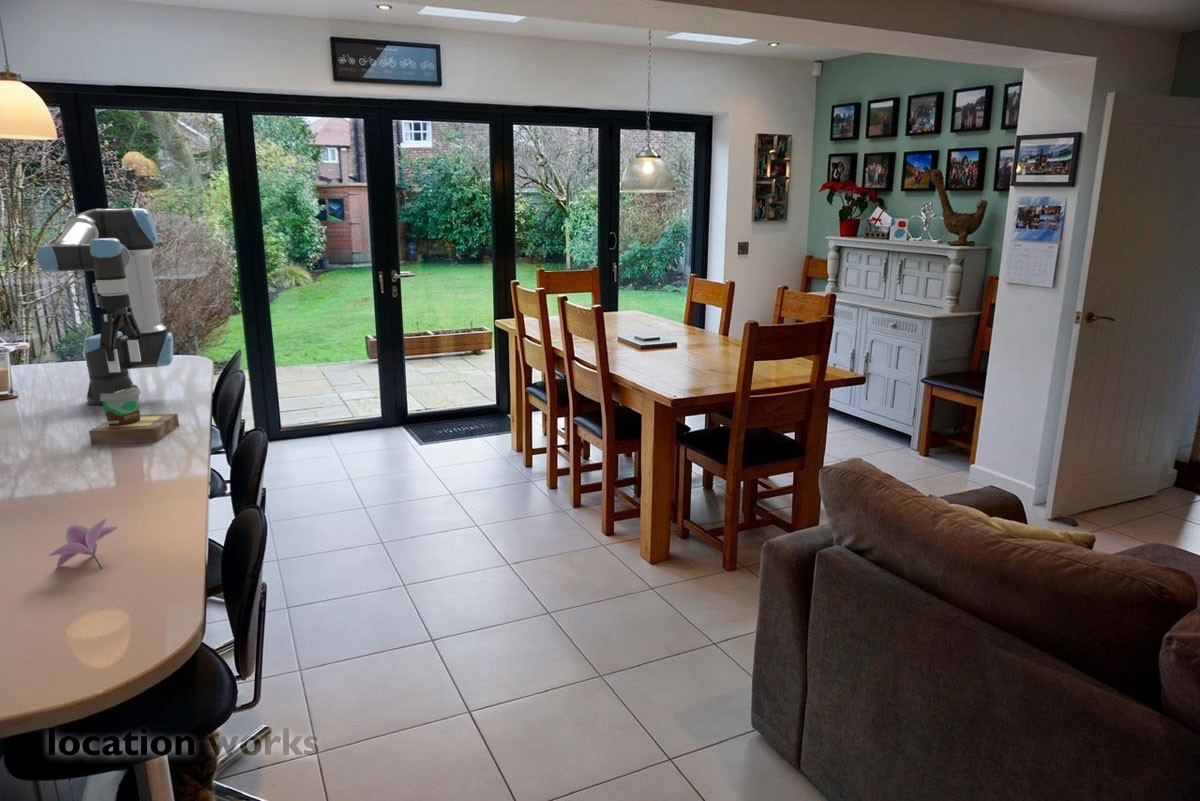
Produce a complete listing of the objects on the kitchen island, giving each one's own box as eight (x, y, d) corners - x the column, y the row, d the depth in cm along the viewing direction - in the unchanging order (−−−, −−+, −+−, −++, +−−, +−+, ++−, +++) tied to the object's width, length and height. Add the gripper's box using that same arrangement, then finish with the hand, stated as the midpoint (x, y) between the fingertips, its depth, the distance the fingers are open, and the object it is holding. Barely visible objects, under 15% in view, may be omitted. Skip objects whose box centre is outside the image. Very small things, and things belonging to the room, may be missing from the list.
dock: (117, 428, 241) (115, 415, 240) (179, 425, 243) (177, 412, 242) (91, 444, 225) (88, 430, 224) (157, 441, 227) (155, 427, 226)
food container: (123, 428, 226) (117, 395, 223) (104, 427, 227) (98, 394, 224) (154, 416, 237) (149, 384, 235) (137, 415, 239) (131, 383, 236)
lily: (133, 552, 160) (109, 512, 159) (130, 552, 150) (103, 509, 149) (70, 586, 154) (44, 544, 154) (62, 588, 144) (34, 543, 143)
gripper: (119, 288, 235) (131, 357, 240) (76, 300, 211) (90, 377, 216) (146, 287, 235) (157, 356, 241) (106, 300, 212) (119, 376, 217)
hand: (125, 366), depth 229 cm, fingers open, 13 cm apart
